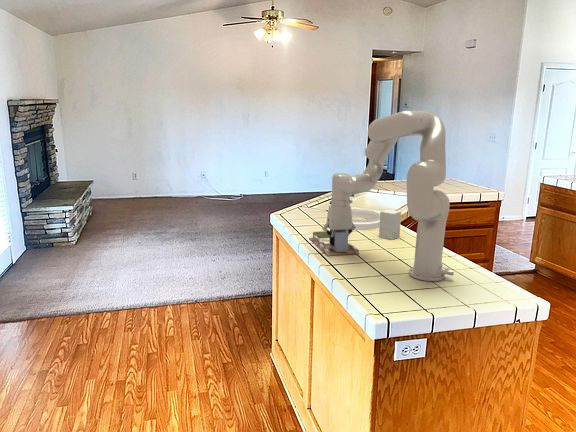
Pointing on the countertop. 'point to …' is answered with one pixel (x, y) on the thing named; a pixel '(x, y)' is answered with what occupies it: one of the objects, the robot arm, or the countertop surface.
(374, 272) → the countertop surface
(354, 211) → the plate
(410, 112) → the robot arm
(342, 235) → the slider block
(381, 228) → the supplement box
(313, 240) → the track
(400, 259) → the countertop surface
